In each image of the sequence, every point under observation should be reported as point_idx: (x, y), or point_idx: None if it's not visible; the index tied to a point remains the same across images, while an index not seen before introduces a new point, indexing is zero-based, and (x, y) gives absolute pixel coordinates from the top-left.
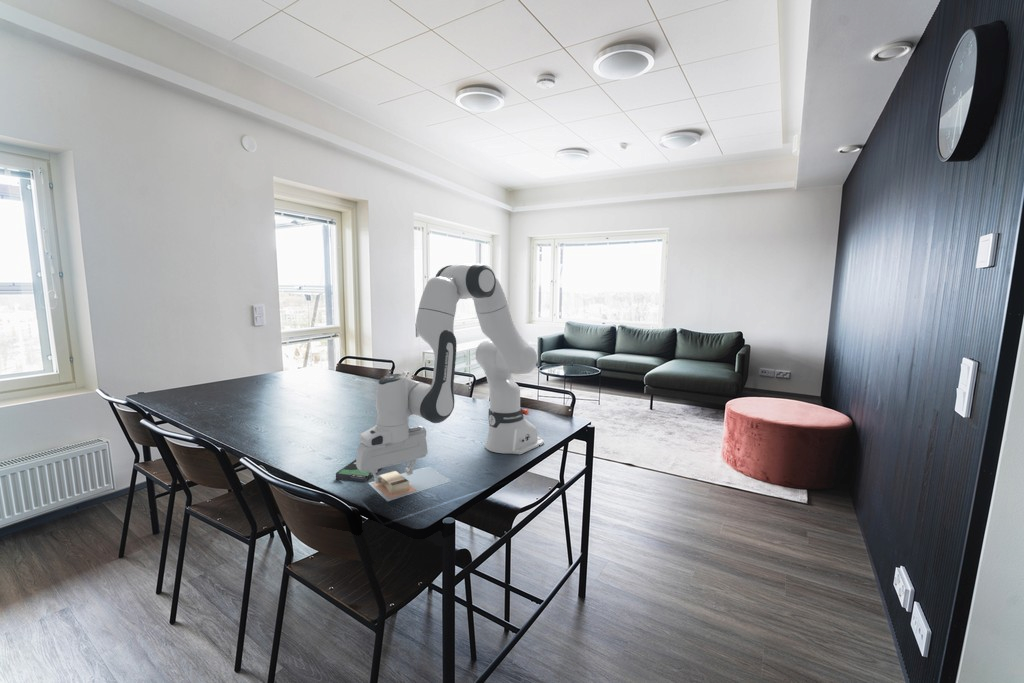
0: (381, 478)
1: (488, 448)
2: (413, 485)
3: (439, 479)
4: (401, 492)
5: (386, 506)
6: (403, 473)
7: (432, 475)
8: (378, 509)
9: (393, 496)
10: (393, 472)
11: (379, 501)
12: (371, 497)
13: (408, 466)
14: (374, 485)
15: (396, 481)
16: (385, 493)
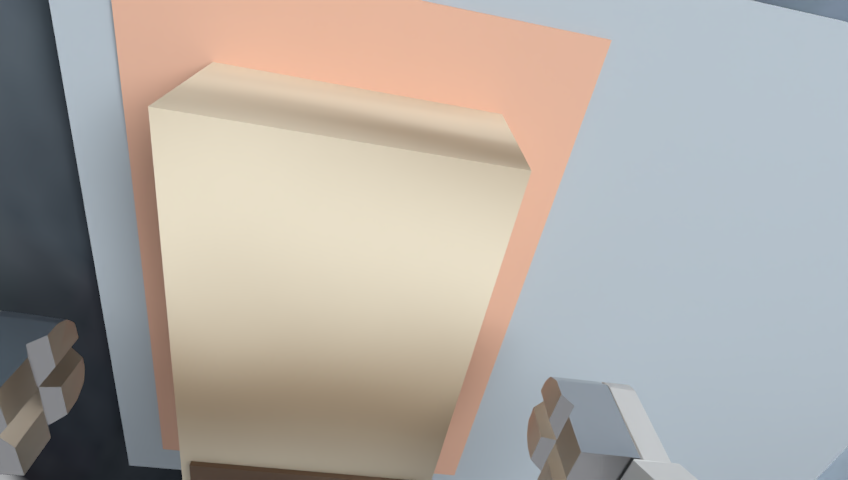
0: (37, 453)
1: None
2: (512, 394)
3: (765, 451)
4: None
5: (115, 470)
6: (742, 17)
7: (834, 356)
8: (35, 468)
9: None
10: (447, 208)
11: None
12: (18, 267)
13: (642, 478)
14: (113, 60)
15: (284, 477)
16: (168, 358)
